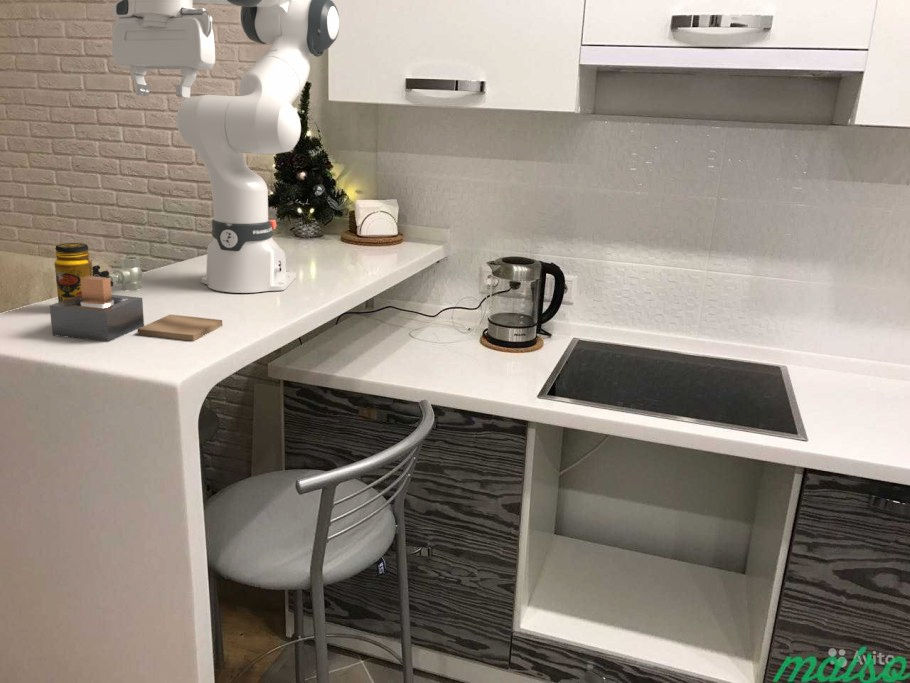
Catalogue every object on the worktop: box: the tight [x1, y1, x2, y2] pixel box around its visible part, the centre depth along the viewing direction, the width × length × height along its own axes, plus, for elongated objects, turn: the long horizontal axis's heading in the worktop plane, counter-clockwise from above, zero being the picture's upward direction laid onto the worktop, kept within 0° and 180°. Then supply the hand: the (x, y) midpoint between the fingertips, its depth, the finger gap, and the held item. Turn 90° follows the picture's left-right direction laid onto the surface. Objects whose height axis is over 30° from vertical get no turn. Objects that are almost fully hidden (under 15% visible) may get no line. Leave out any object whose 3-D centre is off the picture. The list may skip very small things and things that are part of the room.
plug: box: [80, 276, 114, 308], centre depth 125 cm, size 5×5×9 cm
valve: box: [92, 255, 143, 291], centre depth 150 cm, size 7×7×12 cm
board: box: [137, 314, 223, 342], centre depth 129 cm, size 10×10×1 cm
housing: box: [49, 293, 145, 343], centre depth 126 cm, size 10×10×5 cm
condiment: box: [54, 242, 93, 303], centre depth 137 cm, size 7×8×12 cm
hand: (162, 96), depth 126 cm, fingers open, 8 cm apart
